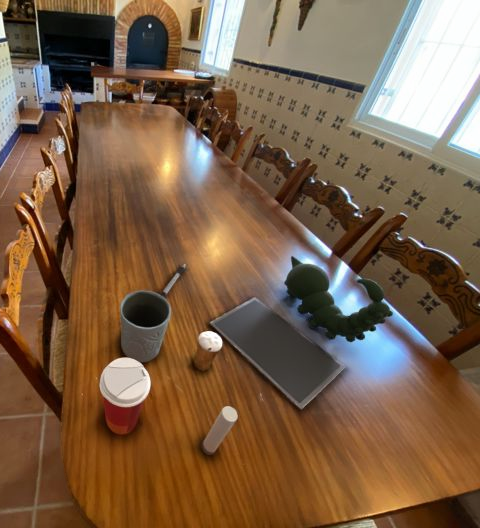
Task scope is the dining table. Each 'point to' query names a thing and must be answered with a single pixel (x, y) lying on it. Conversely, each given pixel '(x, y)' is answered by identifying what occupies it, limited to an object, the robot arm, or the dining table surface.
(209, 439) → the white cylindrical rod
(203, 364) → the milkshake
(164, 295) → the pen
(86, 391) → the dining table surface
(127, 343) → the grey embossed cup
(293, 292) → the toy figurine
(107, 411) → the paper cup
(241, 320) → the tablet
